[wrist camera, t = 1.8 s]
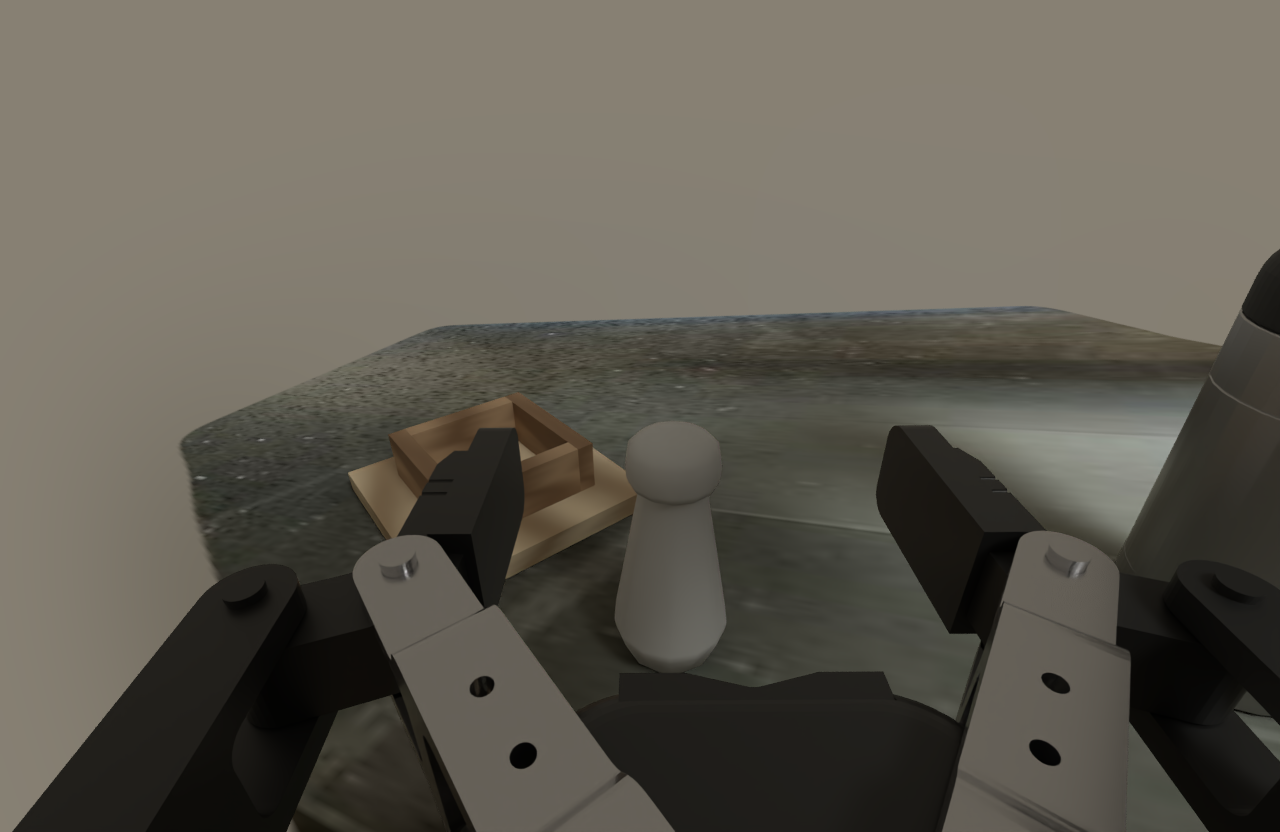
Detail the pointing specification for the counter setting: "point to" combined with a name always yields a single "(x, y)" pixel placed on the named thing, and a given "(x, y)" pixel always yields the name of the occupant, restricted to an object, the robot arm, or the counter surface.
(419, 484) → the socket holder
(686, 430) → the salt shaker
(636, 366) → the counter surface
